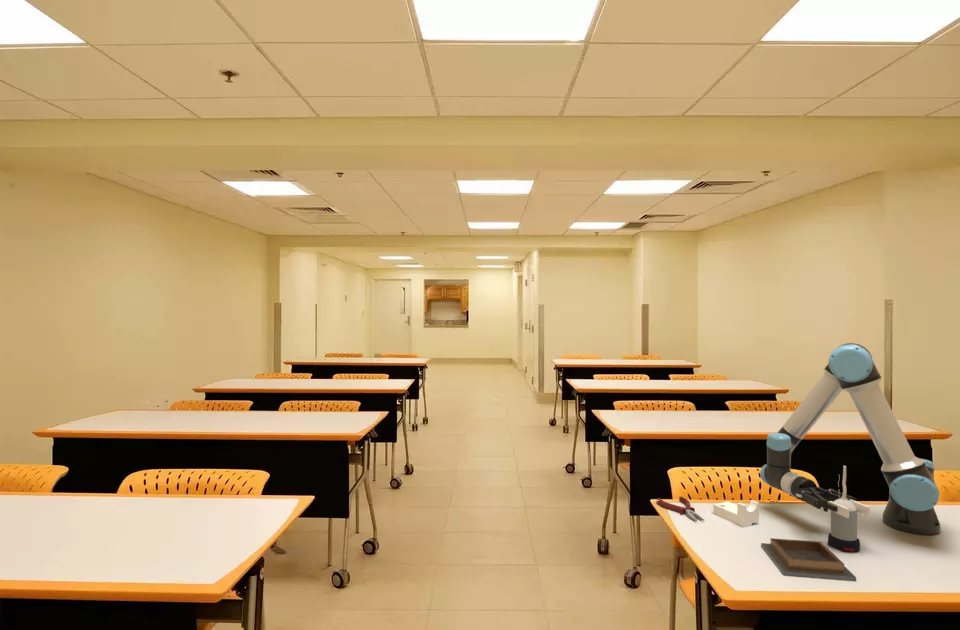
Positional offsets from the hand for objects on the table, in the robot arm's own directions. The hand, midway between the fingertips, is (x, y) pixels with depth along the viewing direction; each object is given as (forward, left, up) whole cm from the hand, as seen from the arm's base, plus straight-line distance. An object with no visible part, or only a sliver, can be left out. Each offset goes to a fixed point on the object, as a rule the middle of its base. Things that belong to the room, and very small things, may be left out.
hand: (858, 512), depth 158 cm
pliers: (+46, -27, -13) cm, 55 cm away
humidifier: (+2, -5, -13) cm, 14 cm away
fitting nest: (+18, +8, -13) cm, 23 cm away
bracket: (+28, -23, -13) cm, 38 cm away
